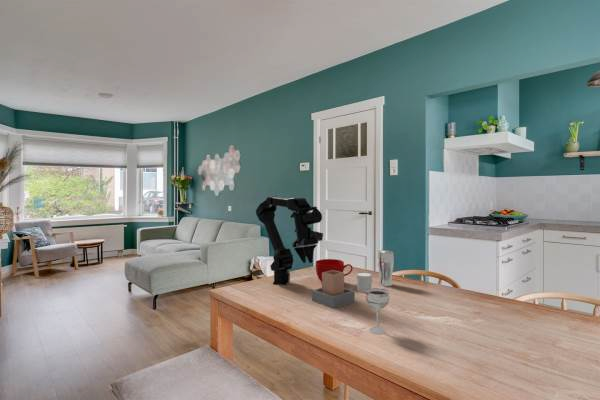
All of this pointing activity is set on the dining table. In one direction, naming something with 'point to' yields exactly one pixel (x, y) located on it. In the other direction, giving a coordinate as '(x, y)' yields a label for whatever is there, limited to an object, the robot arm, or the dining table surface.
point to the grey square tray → (333, 298)
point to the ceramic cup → (330, 266)
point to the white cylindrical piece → (364, 281)
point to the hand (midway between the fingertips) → (307, 262)
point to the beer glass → (385, 267)
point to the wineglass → (377, 304)
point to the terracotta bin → (333, 283)
